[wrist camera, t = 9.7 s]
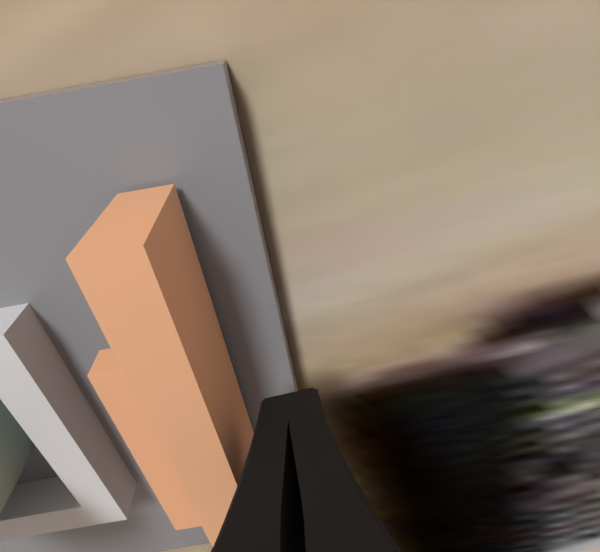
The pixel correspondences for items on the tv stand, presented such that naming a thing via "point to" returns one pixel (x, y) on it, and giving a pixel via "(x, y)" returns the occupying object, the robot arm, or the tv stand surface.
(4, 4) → the tv stand surface
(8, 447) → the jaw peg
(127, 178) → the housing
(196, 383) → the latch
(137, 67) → the tv stand surface
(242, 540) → the robot arm
